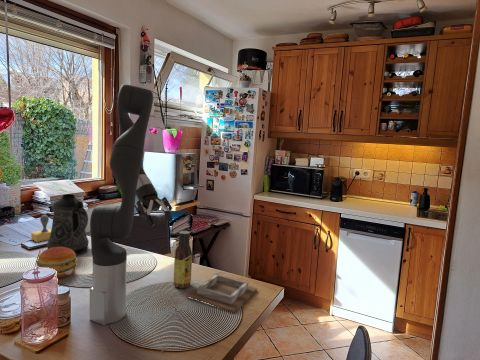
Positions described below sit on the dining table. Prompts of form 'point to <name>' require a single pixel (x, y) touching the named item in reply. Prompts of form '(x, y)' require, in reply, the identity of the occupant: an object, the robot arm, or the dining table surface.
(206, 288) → the carrier board
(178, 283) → the sauce bottle
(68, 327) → the dining table surface
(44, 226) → the rubber stamp
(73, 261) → the burger
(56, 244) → the beer stein
